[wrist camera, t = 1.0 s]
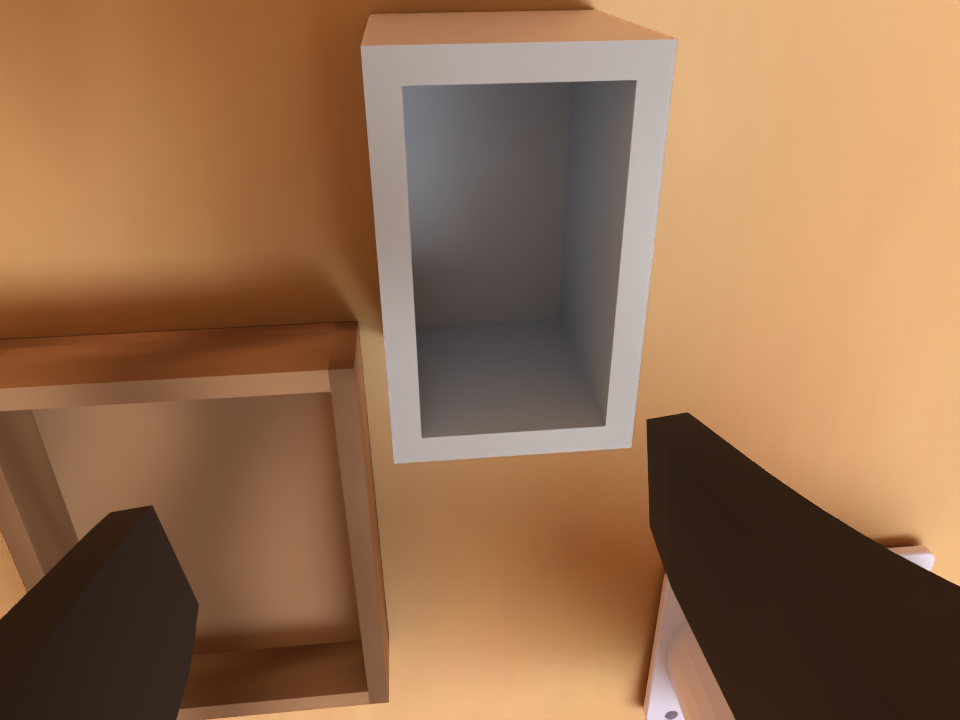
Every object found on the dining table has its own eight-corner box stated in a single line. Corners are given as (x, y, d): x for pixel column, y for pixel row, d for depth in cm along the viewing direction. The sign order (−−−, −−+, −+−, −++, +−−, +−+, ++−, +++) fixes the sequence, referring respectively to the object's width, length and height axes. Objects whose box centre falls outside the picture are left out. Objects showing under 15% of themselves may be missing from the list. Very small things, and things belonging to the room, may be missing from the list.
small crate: (595, 9, 17) (677, 39, 12) (576, 329, 21) (631, 447, 16) (369, 13, 16) (360, 45, 12) (393, 339, 20) (393, 463, 15)
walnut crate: (358, 321, 20) (353, 368, 18) (388, 638, 26) (388, 702, 24) (-7, 339, 19) (-59, 391, 17) (112, 662, 25) (86, 730, 23)
